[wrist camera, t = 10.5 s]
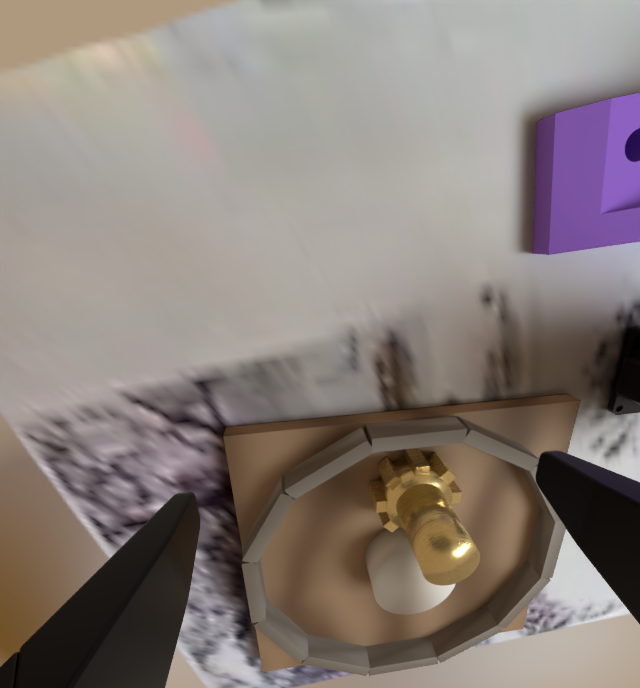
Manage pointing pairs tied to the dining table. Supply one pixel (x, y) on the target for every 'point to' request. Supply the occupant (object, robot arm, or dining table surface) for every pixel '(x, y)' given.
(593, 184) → the bracket
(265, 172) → the dining table surface
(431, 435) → the carrier
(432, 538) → the gear
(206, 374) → the dining table surface
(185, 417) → the dining table surface
